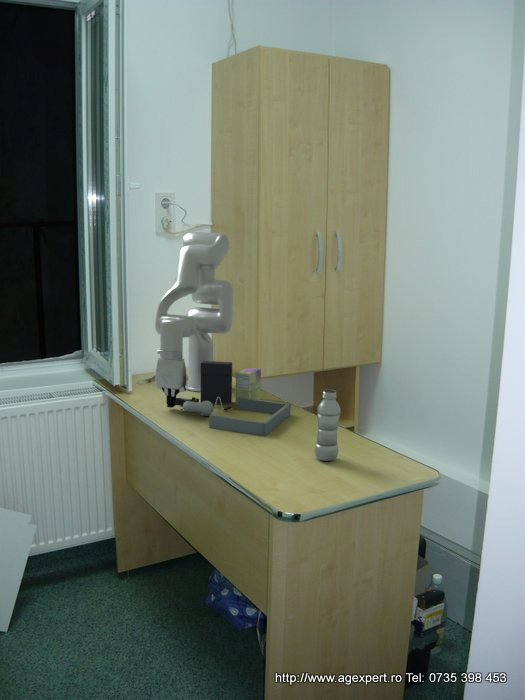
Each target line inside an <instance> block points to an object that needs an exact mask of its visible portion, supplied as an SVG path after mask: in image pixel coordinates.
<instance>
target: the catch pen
mask: <svg viewBox="0 0 525 700" xmlns="http://www.w3.org/2000/svg"><path fill="white" fill-rule="evenodd" d="M291 405H292V404H291V403H287V402H279V401H270V400H263V399H260V400H257V399H250V398H242V397H238V399H237V404H236V406H237V410H244V411H251V412H257V413H264V414H272V415H271V416H269V417H268V418H266V420H264V421H259V420H253V419H252V420H251V419H245V418H238V417H231V416H223V415H215V414H210V415H209V416H208V417H209V418H208V419H209V425H208V426H209V427H208V428H209V429H217V430H221V431H222V430H223V431H228V432H229V431H230V432H237V433H241V434H242V433H244V434H249V435H256V436H263V437H266V436H268V434H270V433H271V432H272V431H273V430H274V429H275V428H276V427H278V426H279V425H280V424H282V422H284V421H285V420H286V419H287V418H289V417H290V416H291Z"/></svg>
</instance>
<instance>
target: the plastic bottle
mask: <svg viewBox="0 0 525 700" xmlns="http://www.w3.org/2000/svg"><path fill="white" fill-rule="evenodd" d="M341 411H342V409H341V407H340V404H339V403H338V401H337V390H333V389H324V390H323V391H322V400H321V402H320V403H319V404H318V405H317V412H316V413H317V427H318V429H317V437H316V438H317V439H316V443H315V447H314V455H315V457H316V459H317V460H319V461H322V462H331V461H332V462H333V461H335V460H336V459H337V458H338V456H339V455H338V454H339V446H338V445H339V444H338V429H339V420H340V418H341V417H340V416H341Z"/></svg>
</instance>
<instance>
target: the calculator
mask: <svg viewBox="0 0 525 700" xmlns="http://www.w3.org/2000/svg"><path fill="white" fill-rule="evenodd" d="M232 393H233V362H231V361H217V360H215V361H214V360H213V361H202V363H201V392H200V399H199V402H200V403H202V402H203V401H209V402H211V404H212V405H213V404H214V405H215V403H216V399H217V397H220V399H221V402H222V405H231V403H232V402H233V401H232V400H233V399H232V397H233V396H232V395H233V394H232ZM220 399H219V398H218V399H217V403H216V405H221V402H220Z"/></svg>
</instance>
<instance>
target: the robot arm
mask: <svg viewBox="0 0 525 700" xmlns="http://www.w3.org/2000/svg"><path fill="white" fill-rule="evenodd" d="M182 242H183V243H182V245H183V246H182V247H181V248H180V250H179V253H178V259H177V265H176V272H175V278H174V284H173V285H172V287H171V288H170V289H168V291H166V293H165V294H164V295H163V296H162V298H161V299H160V301H159V302H158V306H157V309H156V315H155V320H154V321H155V322H154V323H155V324H154V329H155V331H156V333H157V334H158V335H159V336H160V343H159V344H160V345H159V346H160V348H159V349H157V352H156V353H157V354H158V355H159V356H160V357H158V359H157V362H156V369H155V381H154V382H155V385H156V387H157V389H158V390H161V391H162V392H163V393H164V395H165V396H166V407H167V408H169V409H172V408H174V407H176V406H177V405H176V404H175V402H176V398H177V396H178V394H179V393H184V392H186V391H190V392H199V393H201V363H202V361H214V342H213V340H212V338H211V336H210V335H209V334H216V335H217V334H219V335H221V334H222V335H225V334H229V332H230V331H231V330H232V327H233V325H232V324H233V310H234V288H233V284H232V283H231V282H230V281H228V280H225V279H216V278H215V276H216V273H215V271H216V269H217V268H219V266H220V265H221V263H222V262H223V260H224V259H225V257H226V255H227V254H228V251H229V249H230V240H229V237H228V235H226V234H225V233H223V232H222V233H221V232H201V231H199V232H198V231H196V232H195V231H194V232H191V231H190V232H188V233H186V234H185V235H183V238H182ZM190 295H191V299H192V301H193V302H194V303H197V304H201V305H202V304H203V305H214V306H218V307H219V308H216V307H214V308H212V307H199V306H198V307H192V308H191V309H189V310H188V312H186V315H179V314H169V313H168V312H169V310H170V308H171V306H172V305H173V304H174V303H175V302H176V301H178V300H180V299H183V298H184V297H187V296H190ZM183 338H188V362H187V363H188V364H187V365H188V372H187V367H186V362H185V358H183V357H184V356H183V354H184V353H183V352H184V351H183V345H184V342H183V341H184V339H183ZM187 375H188V376H187ZM187 377H188V379H187ZM187 381H188V382H187Z"/></svg>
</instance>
